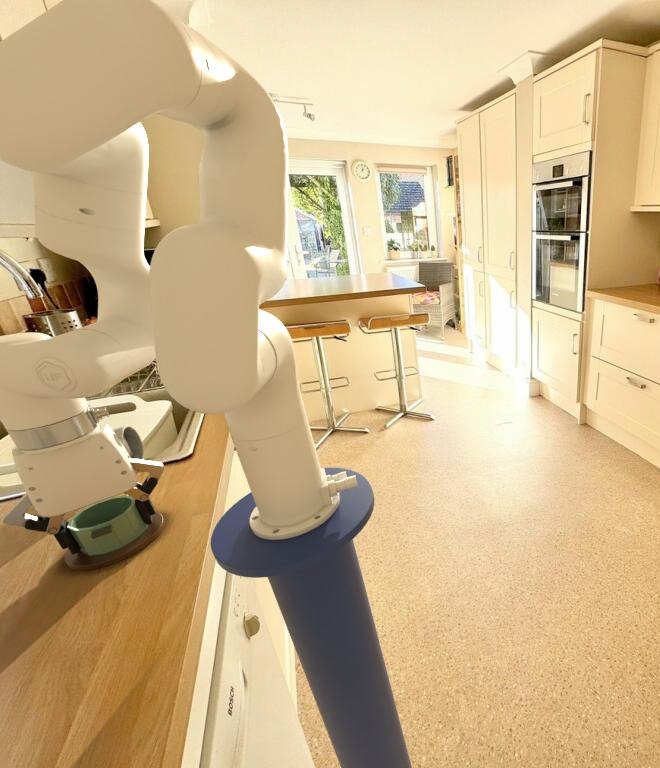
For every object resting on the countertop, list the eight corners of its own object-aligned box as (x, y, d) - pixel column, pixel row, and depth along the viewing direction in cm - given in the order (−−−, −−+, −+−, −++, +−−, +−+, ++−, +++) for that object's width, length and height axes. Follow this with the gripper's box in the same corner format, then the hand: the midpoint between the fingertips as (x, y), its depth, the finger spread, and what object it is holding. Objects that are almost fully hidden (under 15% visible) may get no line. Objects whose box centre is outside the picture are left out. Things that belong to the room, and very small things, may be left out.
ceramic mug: (96, 463, 81) (77, 429, 77) (148, 451, 84) (132, 418, 81) (74, 495, 72) (52, 458, 69) (133, 480, 75) (115, 444, 72)
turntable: (171, 506, 68) (169, 502, 68) (156, 550, 59) (153, 546, 59) (83, 530, 63) (81, 526, 63) (52, 583, 54) (49, 578, 54)
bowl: (86, 534, 61) (72, 510, 60) (147, 512, 65) (136, 489, 64) (78, 568, 55) (61, 543, 54) (146, 542, 59) (133, 517, 58)
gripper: (140, 398, 61) (183, 494, 68) (-41, 444, 51) (32, 551, 58) (143, 415, 56) (189, 516, 63) (-58, 469, 46) (25, 584, 53)
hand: (114, 532), depth 61 cm, fingers closed on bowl, 7 cm apart
